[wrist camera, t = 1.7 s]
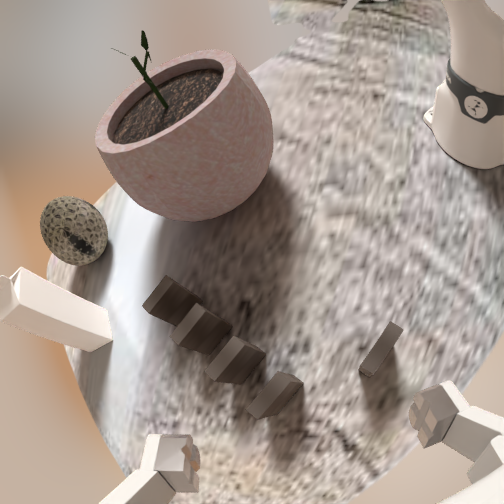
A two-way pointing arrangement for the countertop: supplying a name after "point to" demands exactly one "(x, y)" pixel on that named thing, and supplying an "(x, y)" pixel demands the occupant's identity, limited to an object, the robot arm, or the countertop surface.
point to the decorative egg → (73, 230)
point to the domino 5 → (380, 349)
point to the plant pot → (188, 136)
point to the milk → (52, 312)
